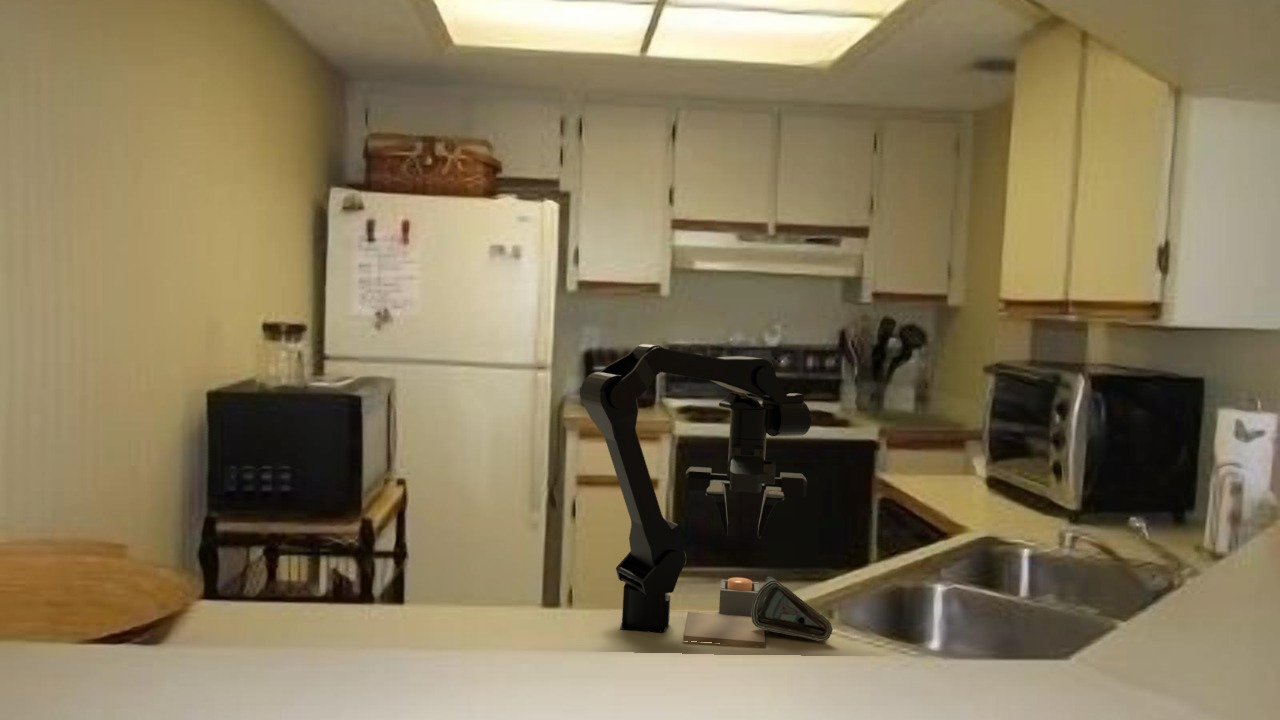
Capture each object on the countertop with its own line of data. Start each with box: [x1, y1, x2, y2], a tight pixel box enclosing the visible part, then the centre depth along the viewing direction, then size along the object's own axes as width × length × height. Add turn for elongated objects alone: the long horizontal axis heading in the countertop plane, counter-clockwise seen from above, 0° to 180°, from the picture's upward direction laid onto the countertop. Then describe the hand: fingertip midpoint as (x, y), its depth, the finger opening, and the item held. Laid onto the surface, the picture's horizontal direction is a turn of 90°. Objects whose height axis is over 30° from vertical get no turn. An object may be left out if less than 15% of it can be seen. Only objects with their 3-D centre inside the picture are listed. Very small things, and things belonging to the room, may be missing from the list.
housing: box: [718, 579, 760, 617], centre depth 154 cm, size 6×6×4 cm
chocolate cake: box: [751, 575, 834, 642], centre depth 145 cm, size 10×7×12 cm
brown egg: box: [727, 577, 753, 591], centre depth 154 cm, size 4×4×4 cm
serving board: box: [682, 611, 766, 648], centre depth 143 cm, size 12×11×1 cm
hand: (742, 536), depth 153 cm, fingers open, 5 cm apart
